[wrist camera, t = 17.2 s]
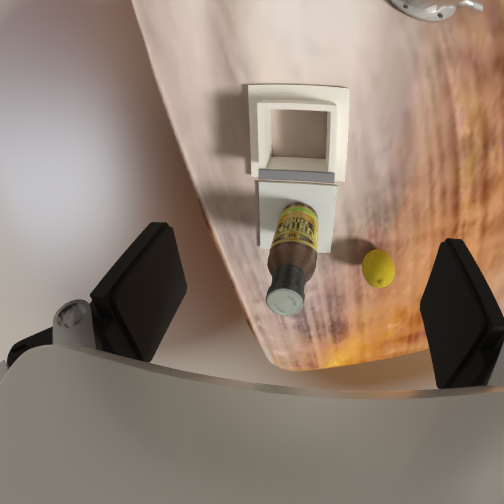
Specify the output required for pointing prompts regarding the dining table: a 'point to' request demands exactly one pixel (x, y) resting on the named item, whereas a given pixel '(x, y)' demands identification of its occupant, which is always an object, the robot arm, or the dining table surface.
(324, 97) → the caddy
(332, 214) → the mat
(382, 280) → the lemon
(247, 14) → the dining table surface
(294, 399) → the robot arm
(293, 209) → the sauce bottle
